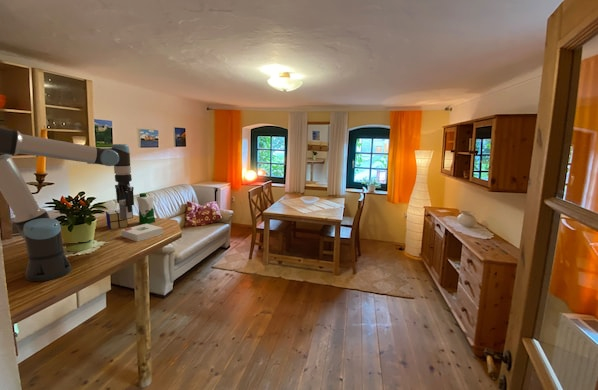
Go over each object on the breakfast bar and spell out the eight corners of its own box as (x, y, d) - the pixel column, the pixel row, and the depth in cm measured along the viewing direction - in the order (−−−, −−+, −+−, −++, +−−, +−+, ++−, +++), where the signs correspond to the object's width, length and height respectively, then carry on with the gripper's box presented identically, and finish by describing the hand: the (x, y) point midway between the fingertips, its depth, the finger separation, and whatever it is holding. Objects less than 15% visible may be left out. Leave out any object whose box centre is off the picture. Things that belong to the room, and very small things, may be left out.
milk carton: (148, 220, 212) (146, 192, 208) (157, 221, 209) (155, 193, 205) (137, 223, 204) (134, 194, 201) (146, 225, 201) (144, 195, 197)
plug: (125, 219, 159) (123, 201, 157) (120, 218, 162) (118, 200, 160) (133, 218, 163) (131, 200, 161) (128, 216, 165) (127, 199, 163)
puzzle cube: (107, 226, 198) (105, 211, 196) (124, 223, 204) (122, 209, 202) (110, 229, 190) (108, 214, 188) (128, 226, 197) (126, 211, 195)
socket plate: (137, 241, 170) (136, 233, 169) (121, 236, 178) (121, 228, 177) (162, 234, 184) (162, 226, 183) (147, 229, 192) (146, 222, 191)
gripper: (139, 174, 157) (142, 218, 161) (120, 172, 165) (124, 213, 170) (125, 176, 150) (129, 221, 155) (106, 173, 159) (110, 216, 163)
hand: (126, 217), depth 162 cm, fingers closed on plug, 4 cm apart
